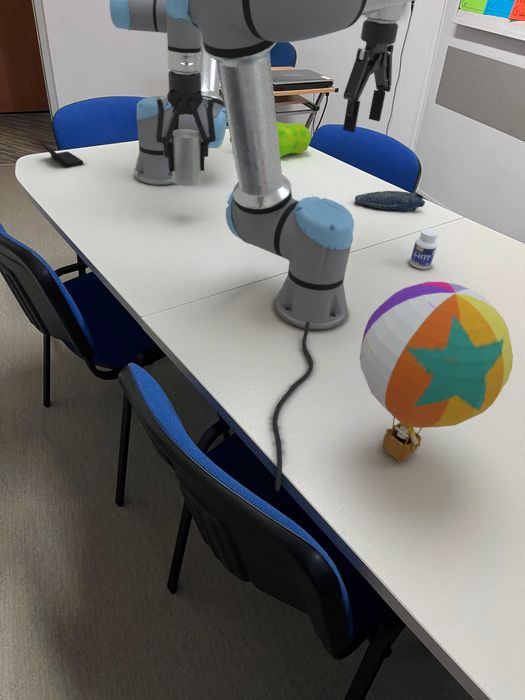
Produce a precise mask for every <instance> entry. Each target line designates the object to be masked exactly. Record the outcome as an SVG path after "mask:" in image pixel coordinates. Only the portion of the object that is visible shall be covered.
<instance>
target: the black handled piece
mask: <svg viewBox="0 0 525 700" xmlns="http://www.w3.org/2000/svg"><path fill="white" fill-rule="evenodd" d="M38 143H39V144H40V145H41V146H42V147H43V149H45V150H46V151H47V152H48V153H49V154H50V156H51V158H52V159H54V160H55V161H57V162H58V163H60V164H61V165H62V166H64V167H66V168H69V167H74V166H79V165H84V161H83V160H82V159H81V158H79V157H78V156H76V155H74V154H73V153H71V152H69V151H61V152H56V151H55V150H53V149H52V148H51V147H49V146H48V145H46V144H44V143H42V142H41V141H39V142H38Z"/></svg>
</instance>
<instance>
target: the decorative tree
mask: <svg viewBox="0 0 525 700" xmlns="http://www.w3.org/2000/svg"><path fill="white" fill-rule="evenodd" d="M277 131H278V140H279V150H280V158H283V157H284V156H287V155H289V154H295V155H299V154H302V153H303V152H305V151H307V149H308V148H309V146H310V145H311V140H312V134H311V131H310V130H309V129H308V128H307V127H306V126H305V125H304V124H303V123H283V122H281V121H277ZM229 142H230V143H231V138H230V137H229Z"/></svg>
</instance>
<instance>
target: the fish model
mask: <svg viewBox="0 0 525 700" xmlns="http://www.w3.org/2000/svg"><path fill="white" fill-rule="evenodd" d="M423 198H424V195H422V194H420V193H419V194H418V193H414V192H408V191H399V190H383V191H380V190H379V191H372V192H366V193H362V194H358V195H355V197H354V203H355V204H358V205H362V206H365V207H369V208H373V209H379V210H389V211H393V210H395V211H402V212H406V211H408V210H412V211H416V210H417V209H418V208H423V207H424V206H425V204H426V201H425V200H424V199H423Z"/></svg>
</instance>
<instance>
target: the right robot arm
mask: <svg viewBox="0 0 525 700" xmlns="http://www.w3.org/2000/svg"><path fill="white" fill-rule="evenodd" d="M413 1H414V0H178V2H179V6H180V9H181V12H182V14H183V16H184V17H185V19H186V20H188V21H189V22H190V23H191V24H192V25H193V26H195V27H197V28H200V29H201V34H202V39H203V44H204V49H205V52H206V53H207V54H208V55H209V56H210V57H212V58H213V59H215V60H216V61H217V66H218V72H219V77H220V88H221V93H222V100H223V101H224V104H223V106H224V107H225V110H226V116H227V127H228V131H229V139H230V138H231V142H230V144H231V148H232V154H233V160H234V165H235V170H236V174H237V175H236V176H237V180H238V181H237V183H236V184H235V185H234V187H233V189H232V191H231V193H230V194H229V196H228V199H227V202H226V203H227V204H228V205H227V207H225V220H226V224H227V227H228V229H229V231H230V232H231V234H232V235H234V236H235V238H238V239H239V240H242V242H244V243H246V244H249V245H252V246H255V247H257V248H259V249H262V250H264V251H266V252H269V253H270V254H273V255H276V256H278V257H281V258H282V259H284V260H288V261H289V262H288V263H289V264H288V270H287V271H288V272H287V275H286V278H285V279H284V282H283V283H282V285H281V287H280V290H279V291H278V294H277V296H276V300H275V311H276V313H277V315H278V316H279V317H280V318H281V319H282V320H283V321H284V322H286V323H287V324H289V325H291V326H293V327H296V328H300V329H304V331H303V332H304V333H303V336H302V341H301V347H302V351H303V353H304V355H305V357H306V358H307V361H308V368H307V371H306V372H305V373H304V374H303V375H302V376H301V377H299V378H298V379H297V380H296V381H295V382H293V384H292V385H291V386H290V387H289V388H288V390H287V391H286V392H285V393H284V395H283V396H282V397H281V398H280V399H279V401H278V403H277V404H276V406H275V408H274V411H273V414H272V430H273V433H274V434H273V435H274V439H275V443H276V445H275V446H276V474H275V484H274V489H275V491H276V492H279V491H280V490H281V486H282V474H283V473H282V472H283V451H282V449H283V447H282V441H281V435H280V432H279V427H278V419H279V418H278V417H279V414H280V410H281V408H282V406H283V404H285V401H287V399H288V398H289V397H290V395H292V393H293V392H294V391H295V389H297V387H298V386H299V385H300V384H302V383H303V382H304V381H305V380H307V378H308V377H309V376H310V375H311V374H312V371H313V368H314V361H313V358H312V356H311V354H310V353H309V350H308V348H307V339H308V335H309V330H310V331H324V330H325V331H326V330H329V329H333V328H336V327H337V326H339V325H340V324H342V323H343V322H344V320H345V318H346V315H347V310H348V305H347V297H346V292H345V286H344V280H345V275H346V271H347V267H348V262H349V257H350V253H351V247H352V244H353V242H354V241H353V240H354V230H355V229H354V228H355V221H354V218H353V215H352V214H351V211H349V210H348V208H346V207H345V206H344V205H342V204H340V202H339V203H338V202H337V201H334V200H332V199H329V198H325V197H322V198H320V197H318V196H308V197H304V198H303V197H302V199H300V200H298V199H295V198H293V194H292V185H291V182H290V180H289V178H288V177H286V176H285V175H284V174H283V171H282V170H283V169H282V161H281V157H280V150H279V140H278V131H277V122H278V120H277V113H276V103H275V92H274V83H273V82H274V81H273V73H272V63H271V53H270V52H271V50H272V49H273V48H274V47H275V46H276V44H277V43H293V42H300V41H306V40H311V39H316V38H318V37H323V36H326V35H329V34H333V33H337V32H340V31H342V30H346V29H349V28H350V27H352V26H354V25H355V24H357V22H358V21H359V20H360V18H361V17H362V16H364V17H365V18H366V19H364V21H363V22H362V27H361V32H360V33H361V34H360V39H361V41H362V42H364V43H365V47H364V48H360V47H359V48H357V50H356V56H355V61H354V63H353V66H352V69H351V72H350V75H349V78H348V81H347V84H346V87H345V89H344V92H343V99H344V100H347V102H346V108H345V109H346V110H345V115H344V121H343V126H342V127H343V129H342V130H343V131H346V132H350V133H355V132H356V128H357V122H358V116H359V112H360V107H361V106H360V105H361V101H360V100H359V99H360V98H361V95H362V94H363V91H364V89H365V87H366V85H367V83H368V81H369V79H370V76H371V75H374V76H373V77H374V81H375V82H374V83H375V88H376V89H374V90H373V94H372V98H371V104H370V110H369V115H368V120H371V121H375V122H381V117H382V112H383V107H384V104H385V103H384V102H385V97H386V93H389V92H390V91H391V89H392V87H391V86H392V81H393V80H392V78H393V76H392V75H393V55H394V54H393V52H394V44H395V42H396V40H397V35H398V29H399V25H398V22H399V21H400V20H401V17H402V11H403V7H404V4H406V3H410V2H413Z"/></svg>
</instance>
